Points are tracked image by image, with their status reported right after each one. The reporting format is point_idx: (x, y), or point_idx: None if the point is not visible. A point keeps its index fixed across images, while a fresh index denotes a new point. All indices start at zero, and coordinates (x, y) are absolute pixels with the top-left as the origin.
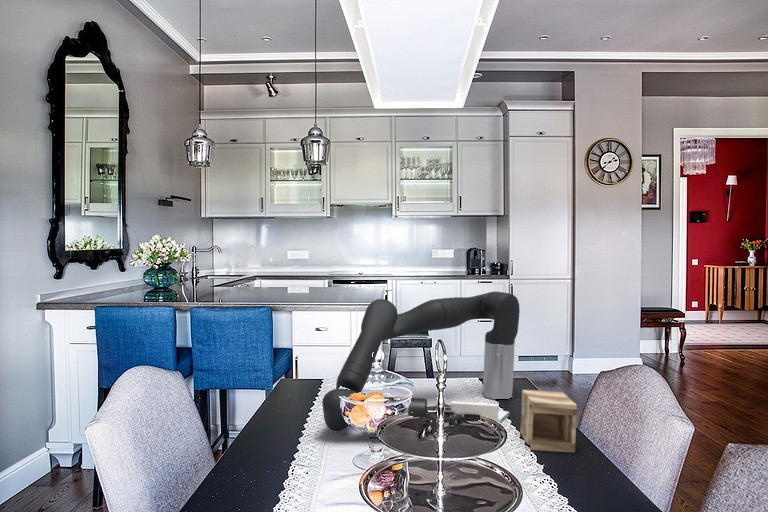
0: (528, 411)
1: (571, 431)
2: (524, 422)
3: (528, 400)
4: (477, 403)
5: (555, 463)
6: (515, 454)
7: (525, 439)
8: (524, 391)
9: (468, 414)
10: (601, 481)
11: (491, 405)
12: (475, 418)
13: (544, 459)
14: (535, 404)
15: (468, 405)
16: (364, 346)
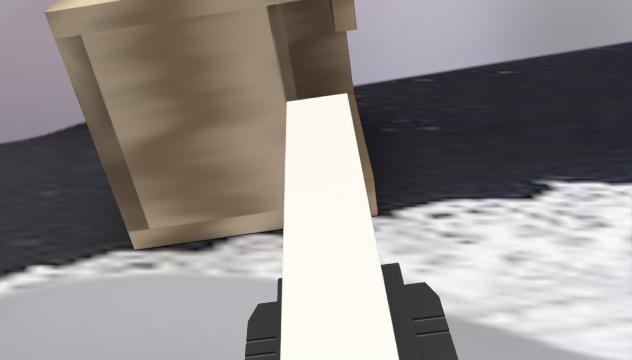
0: (259, 66)
1: (339, 50)
2: (197, 163)
3: (235, 3)
4: (307, 196)
5: (508, 155)
6: (474, 266)
7: (254, 225)
8: (91, 3)
9: (417, 352)
10: (603, 79)
11: (339, 121)
12: (440, 311)
13: (480, 180)
14: None
15: (379, 274)
16: None
